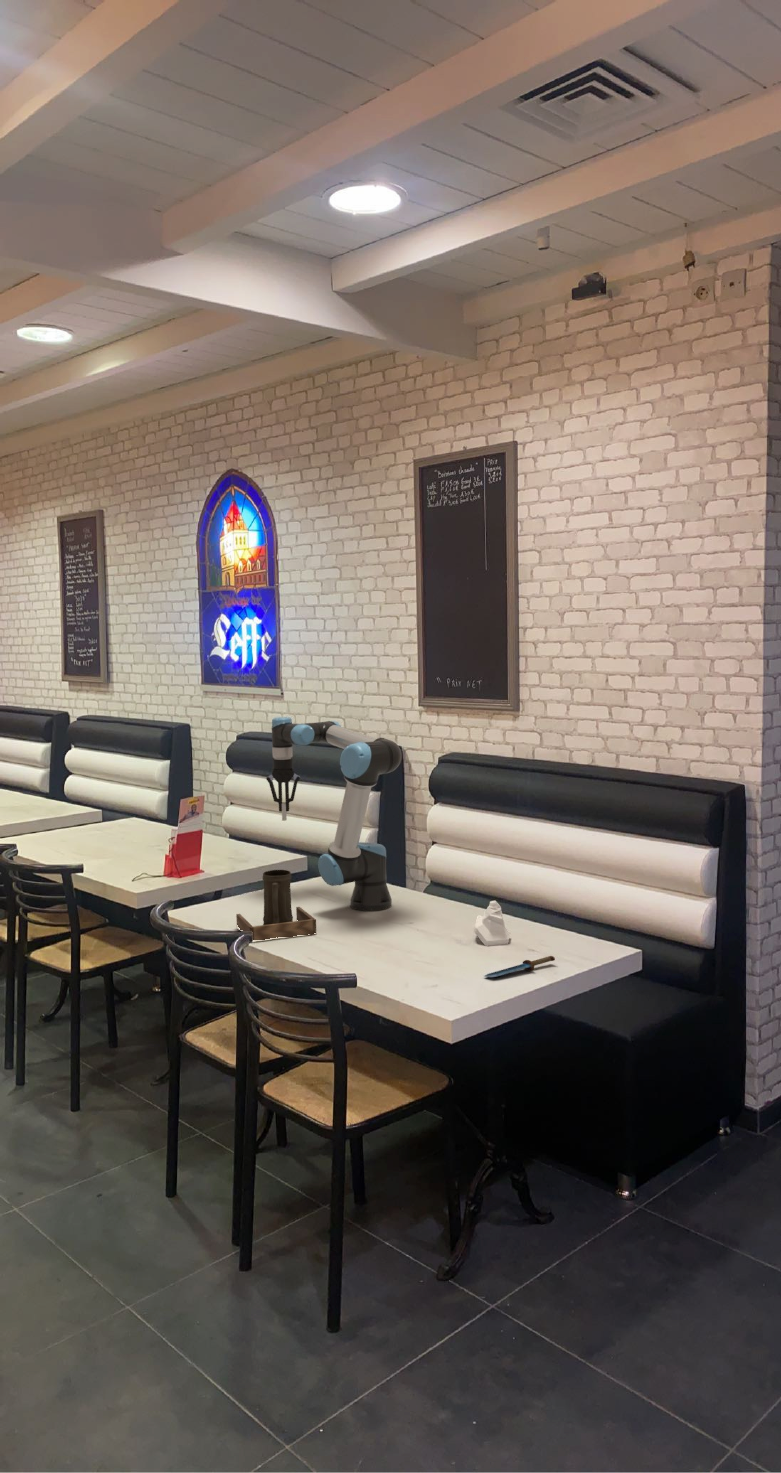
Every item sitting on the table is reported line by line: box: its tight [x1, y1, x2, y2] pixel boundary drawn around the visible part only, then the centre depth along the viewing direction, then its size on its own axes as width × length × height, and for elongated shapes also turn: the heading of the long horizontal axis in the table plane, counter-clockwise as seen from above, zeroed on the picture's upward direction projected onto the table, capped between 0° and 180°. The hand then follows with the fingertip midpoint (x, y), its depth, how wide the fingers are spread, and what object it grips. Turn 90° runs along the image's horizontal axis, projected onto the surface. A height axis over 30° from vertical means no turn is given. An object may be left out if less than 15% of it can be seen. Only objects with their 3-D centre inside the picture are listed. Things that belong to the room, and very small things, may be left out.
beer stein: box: [261, 869, 294, 925], centre depth 349 cm, size 15×10×20 cm
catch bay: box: [235, 906, 317, 940], centre depth 347 cm, size 22×18×5 cm
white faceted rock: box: [473, 900, 511, 947], centre depth 333 cm, size 12×15×14 cm
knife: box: [484, 955, 556, 978], centre depth 301 cm, size 24×3×5 cm
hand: (284, 819), depth 392 cm, fingers closed
